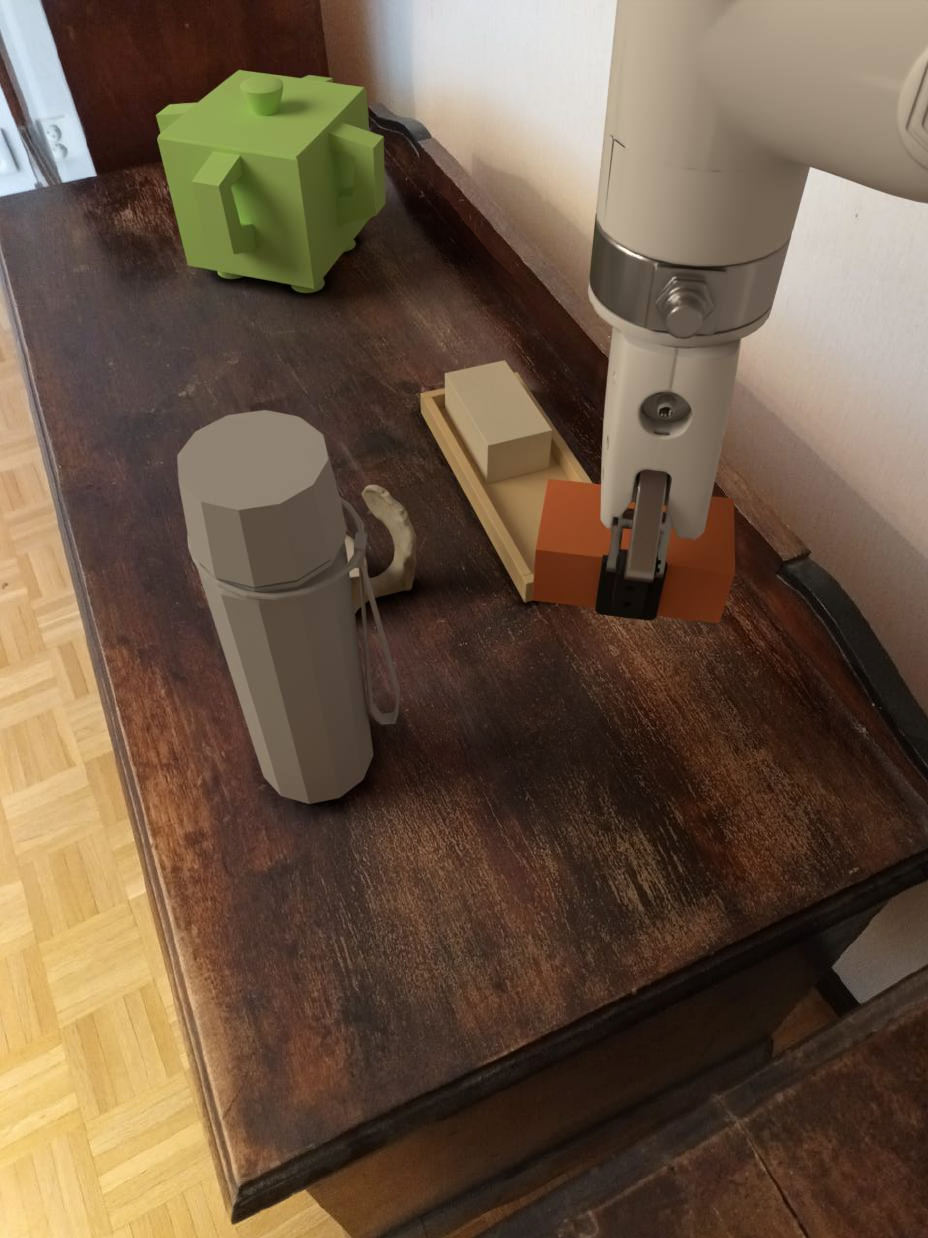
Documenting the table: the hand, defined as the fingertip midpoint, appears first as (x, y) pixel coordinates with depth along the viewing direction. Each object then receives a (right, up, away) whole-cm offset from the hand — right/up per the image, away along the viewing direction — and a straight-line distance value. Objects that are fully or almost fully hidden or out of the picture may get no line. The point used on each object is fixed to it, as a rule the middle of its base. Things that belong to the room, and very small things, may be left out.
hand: (629, 568), depth 51 cm
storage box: (-28, +36, +47) cm, 66 cm away
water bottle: (-17, -12, +8) cm, 23 cm away
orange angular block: (0, 0, 0) cm, 0 cm away
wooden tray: (-5, +8, +25) cm, 26 cm away
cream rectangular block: (-6, +12, +27) cm, 31 cm away
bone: (-17, -1, +17) cm, 24 cm away
